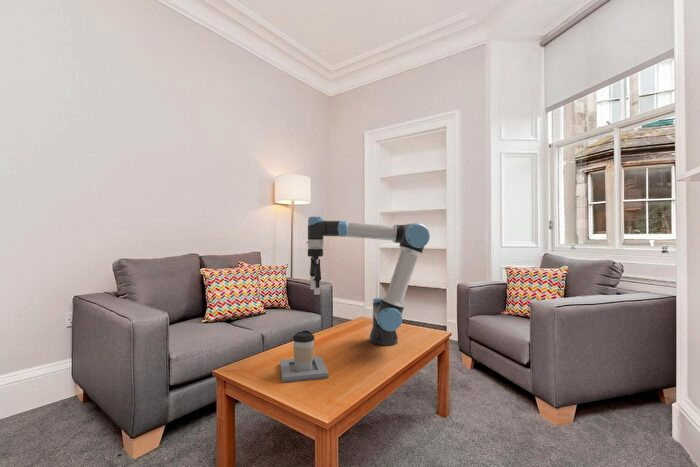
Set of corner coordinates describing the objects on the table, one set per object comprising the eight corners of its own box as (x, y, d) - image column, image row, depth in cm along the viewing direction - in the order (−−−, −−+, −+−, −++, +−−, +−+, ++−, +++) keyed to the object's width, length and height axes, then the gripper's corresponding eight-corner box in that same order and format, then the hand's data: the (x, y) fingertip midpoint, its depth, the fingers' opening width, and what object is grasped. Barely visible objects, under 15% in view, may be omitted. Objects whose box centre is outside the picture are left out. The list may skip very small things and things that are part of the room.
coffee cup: (310, 374, 133) (310, 337, 133) (289, 372, 135) (289, 335, 134) (317, 365, 142) (317, 330, 142) (297, 363, 143) (297, 329, 143)
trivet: (320, 360, 149) (320, 356, 149) (328, 377, 132) (328, 372, 132) (280, 364, 145) (280, 359, 144) (282, 382, 127) (282, 377, 127)
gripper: (304, 247, 172) (304, 287, 172) (311, 249, 148) (310, 297, 148) (318, 247, 174) (318, 287, 174) (327, 249, 150) (327, 296, 150)
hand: (315, 291), depth 161 cm, fingers open, 13 cm apart
